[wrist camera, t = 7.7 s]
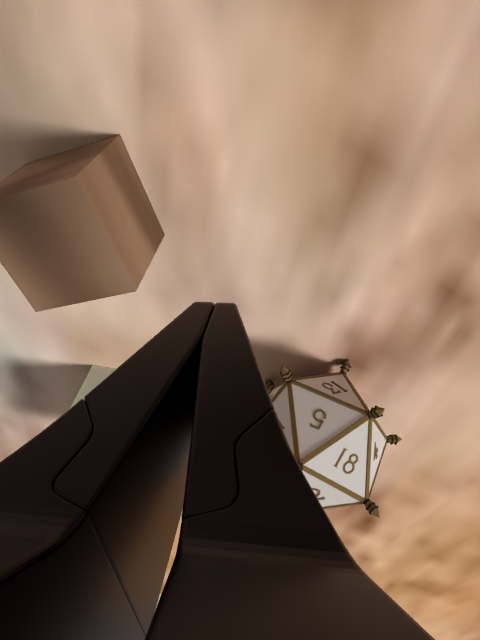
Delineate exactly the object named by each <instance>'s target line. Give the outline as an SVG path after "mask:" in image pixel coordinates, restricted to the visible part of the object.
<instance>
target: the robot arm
mask: <svg viewBox="0 0 480 640" xmlns="http://www.w3.org/2000/svg"><path fill="white" fill-rule="evenodd" d="M84 399H85V400H84ZM84 399H81V400H80V401H78V402H77V403H76V404H75V405H74V406H73V407H71V408H70V409H69V410H68V411H67V412H66V413H64V414H63V415H62V416H61V417H59V418H58V419H57V420H56V421H55V422H53V423H52V424H51V425H50V426H48V427H47V428H46V429H45V430H43V431H42V432H41V433H39V434H38V435H37V436H35V437H34V438H33V439H31V440H30V441H29V442H27V443H26V444H25V445H23V446H22V447H21V448H19V449H18V450H17V451H15V452H14V453H12V454H11V455H10V456H8V457H7V458H5V459H4V460H3V461H1V462H0V640H435V639H434V638H433V637H432V636H431V635H430V634H429V633H427V632H426V631H425V630H424V629H423V628H422V627H421V626H420V625H419V624H418V623H417V622H416V621H415V620H414V619H413V618H412V617H411V616H410V615H409V614H407V613H406V612H405V611H404V610H403V609H402V608H401V607H400V606H399V605H398V604H397V603H396V602H395V601H394V600H393V599H392V598H391V597H390V596H389V595H387V594H386V593H385V592H384V591H383V590H382V589H381V588H380V587H379V586H378V585H377V584H376V583H375V582H374V581H373V580H372V579H371V578H370V577H369V576H368V575H367V574H366V573H365V572H364V571H363V570H362V569H361V568H360V567H359V565H358V564H357V563H356V561H355V560H354V559H353V557H352V556H351V555H350V553H349V552H348V550H347V548H346V547H345V545H344V544H343V542H342V541H341V539H340V537H339V536H338V534H337V532H336V530H335V529H334V527H333V525H332V523H331V522H330V520H329V518H328V516H327V514H326V513H325V511H324V509H323V507H322V506H321V504H320V502H319V500H318V498H317V497H316V495H315V493H314V491H313V490H312V488H311V486H310V484H309V482H308V481H307V479H306V477H305V475H304V474H303V472H302V470H301V468H300V466H299V464H298V462H297V460H296V458H295V456H294V454H293V452H292V450H291V448H290V446H289V444H288V441H287V439H286V436H285V434H284V432H283V429H282V427H281V424H280V422H279V419H278V416H277V414H276V412H275V409H274V406H273V403H272V401H271V398H270V395H269V393H268V390H267V387H266V384H265V382H264V379H263V376H262V374H261V371H260V368H259V365H258V363H257V360H256V357H255V355H254V352H253V349H252V347H251V344H250V341H249V338H248V336H247V333H246V330H245V328H244V325H243V322H242V319H241V317H240V314H239V311H238V309H237V306H236V304H234V303H216V304H214V303H212V302H195V303H193V304H192V305H191V306H189V307H188V308H187V309H186V310H185V311H184V312H182V313H181V314H180V315H179V316H178V317H177V318H175V319H174V320H173V321H172V322H171V323H170V324H168V325H167V326H166V327H165V328H164V329H163V330H161V331H160V332H159V333H158V334H157V335H156V336H154V337H153V338H152V339H151V340H150V341H149V342H147V343H146V344H145V345H144V346H143V347H142V348H141V349H139V350H138V351H137V352H136V353H135V354H134V355H132V356H131V357H130V358H129V359H128V360H127V361H125V362H124V363H123V364H122V365H121V366H120V367H118V368H117V369H116V370H115V371H114V372H113V373H111V374H110V375H109V376H108V377H107V378H106V379H104V380H103V381H102V382H101V383H100V384H99V385H97V386H96V387H95V388H94V389H93V390H92V391H90V392H89V393H88V394H87V395H86V396H85V397H84ZM182 509H183V511H182ZM181 512H182V523H181V529H180V536H179V542H178V547H177V552H176V556H175V559H174V562H173V565H172V568H171V571H170V573H169V576H168V579H167V581H166V584H165V587H164V589H163V592H162V595H161V597H160V600H159V603H158V605H157V601H158V598H159V594H160V590H161V587H162V583H163V579H164V576H165V572H166V568H167V564H168V561H169V557H170V553H171V550H172V546H173V542H174V538H175V535H176V531H177V527H178V523H179V520H180V516H181ZM156 605H157V608H156ZM155 609H156V611H155Z"/></svg>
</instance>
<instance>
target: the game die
mask: <svg viewBox="0 0 480 640" xmlns="http://www.w3.org/2000/svg"><path fill="white" fill-rule="evenodd" d="M341 364H342V366H341V367H340V368H341V371H340V372H338V373H330V374H322V375H314V376H306V377H298V378H292V373H291V370H290V369H287V368H285V367H282V371H281V372H280V373H281V375H282V377H283V379H284V380H286V381H284V382H283V383H281V384H279V385H278V386H276V387H275V385H274V384H273V382H272V381H271V380H265V384H266V387H267V390H270V393H269V395H270V398H271V401H272V403H273V406H274V409H275V412H276V414H277V416H278V419H279V422H280V424H281V427H282V429H283V432H284V434H285V436H286V439H287V441H288V444H289V446H290V448H291V450H292V452H293V454H294V456H295V458H296V460H297V462H298V464H299V466H300V468H301V470H302V472H303V474H304V475H305V477H306V479H307V481H308V482H309V484H310V486H311V488H312V490H313V491H314V493H315V495H316V497H317V498H318V500H319V502H320V504H321V506H322V507H323V509H328V508H336V507H343V506H351V505H359V504H365V506H366V510H368V511H369V514H370V515H371V514H372V515H375V516H377V517H379V512H378V506H376V505H375V502H371V501H370V500H369V497H370V494H371V491H372V487H373V484H374V481H375V478H376V475H377V472H378V469H379V466H380V462H381V459H382V456H383V453H384V450H385V447H386V444H387V443H390V444H395V445H396V444H397V443H398V442H399V441H400V440H401V438H400V437H398V436H397V435H389V436H386V435H385V433H384V432H383V430H382V429H381V427H380V425H379V424H378V422H377V421H376V419H375V418H378V417H381V416H383V412H384V408H380V407H378V406H375V408H373V407H372V408H371V411H370V410H369V409H368V407H367V406H366V404H365V403H364V401H363V400H362V398H361V397H360V395H359V394H358V392H357V391H356V389H355V388H354V386H353V385H352V383H351V382H350V380H349V379H348V377H347V376H346V373H347V372H348V371H349V368H351V366H350V362H349V360H347V361H345V362H344V363H341ZM379 518H380V517H379Z"/></svg>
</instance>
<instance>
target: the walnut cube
mask: <svg viewBox="0 0 480 640" xmlns="http://www.w3.org/2000/svg"><path fill="white" fill-rule="evenodd" d="M164 235H165V234H164V232H163V230H162V228H161V225H160V223H159V221H158V219H157V216H156V214H155V212H154V210H153V207H152V205H151V203H150V201H149V199H148V196H147V194H146V192H145V190H144V187H143V185H142V183H141V181H140V178H139V176H138V174H137V172H136V169H135V167H134V165H133V163H132V160H131V158H130V156H129V154H128V151H127V149H126V147H125V145H124V142H123V140H122V138H121V136H120V134H119V135H116V136H113V137H110V138H106V139H103V140H100V141H97V142H94V143H91V144H87V145H84V146H81V147H78V148H75V149H72V150H68V151H65V152H62V153H59V154H56V155H52V156H49V157H46V158H43V159H40V160H37V161H33V162H30V163H27V164H25V165H23V166H22V167H21V168H19V169H18V170H17V171H15V172H14V173H12V174H11V175H10V176H8V177H7V178H6V179H4V180H3V181H2V182H0V262H1V263H2V265H3V266H4V268H5V269H6V271H7V272H8V273H9V275H10V276H11V278H12V279H13V280H14V282H15V283H16V285H17V286H18V287H19V289H20V290H21V292H22V293H23V295H24V296H25V297H26V299H27V300H28V302H29V303H30V304H31V306H32V307H33V309H34V310H35V312H38V311H42V310H47V309H52V308H57V307H62V306H67V305H72V304H76V303H81V302H86V301H91V300H96V299H101V298H106V297H110V296H115V295H120V294H125V293H130V292H135V291H136V290H137V288H138V286H139V284H140V282H141V280H142V278H143V276H144V274H145V272H146V270H147V269H148V267H149V265H150V263H151V261H152V259H153V257H154V255H155V253H156V251H157V249H158V247H159V245H160V243H161V241H162V239H163V237H164Z"/></svg>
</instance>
